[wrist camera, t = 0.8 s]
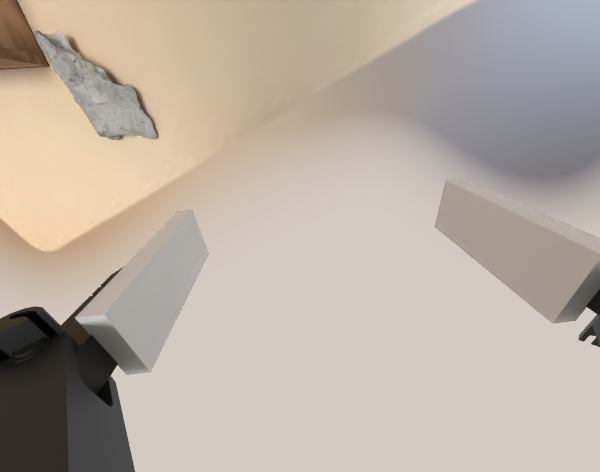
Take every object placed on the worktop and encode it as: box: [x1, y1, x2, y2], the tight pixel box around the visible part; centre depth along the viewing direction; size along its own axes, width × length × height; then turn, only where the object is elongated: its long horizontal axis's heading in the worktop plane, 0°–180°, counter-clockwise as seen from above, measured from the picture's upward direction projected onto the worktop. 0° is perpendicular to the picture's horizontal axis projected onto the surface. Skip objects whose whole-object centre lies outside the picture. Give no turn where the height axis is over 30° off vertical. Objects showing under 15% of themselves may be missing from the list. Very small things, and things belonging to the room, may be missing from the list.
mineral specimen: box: [35, 30, 157, 140], centre depth 28 cm, size 6×12×4 cm, turn 14°
